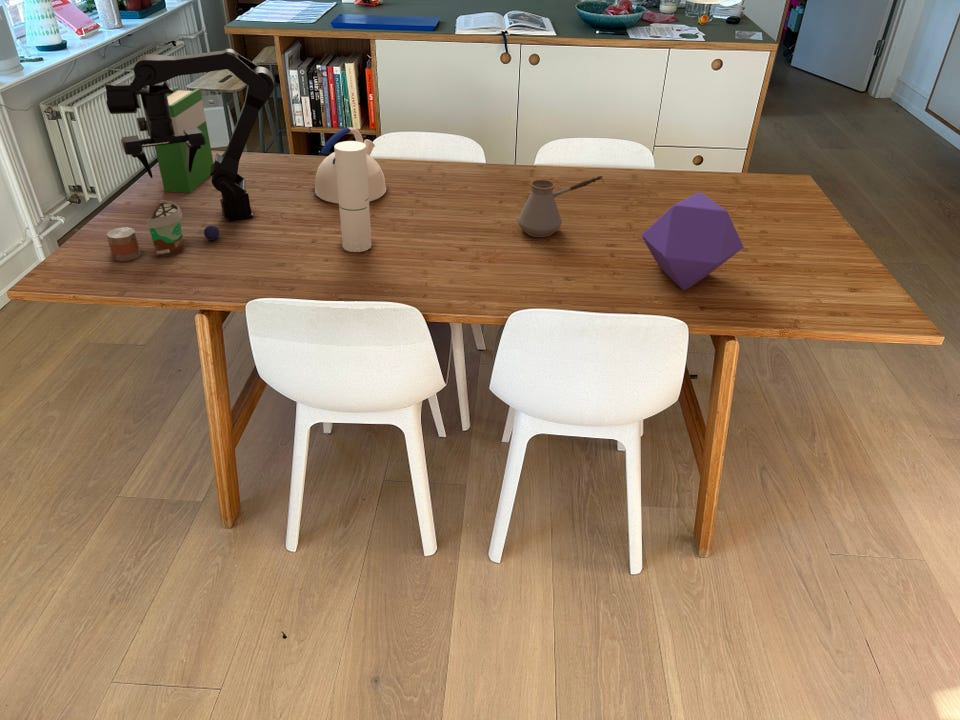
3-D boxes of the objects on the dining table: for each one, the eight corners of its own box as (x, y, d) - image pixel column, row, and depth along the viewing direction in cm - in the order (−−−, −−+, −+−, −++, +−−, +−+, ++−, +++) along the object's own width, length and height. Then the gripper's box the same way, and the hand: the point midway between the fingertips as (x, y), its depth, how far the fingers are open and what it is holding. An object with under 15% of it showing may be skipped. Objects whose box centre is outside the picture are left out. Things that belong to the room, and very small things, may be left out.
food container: (182, 259, 175) (174, 219, 170) (155, 259, 175) (146, 220, 169) (193, 236, 185) (185, 198, 180) (168, 237, 185) (159, 199, 179)
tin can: (138, 248, 179) (132, 225, 176) (142, 258, 175) (136, 234, 172) (111, 253, 177) (104, 229, 173) (114, 263, 172) (108, 240, 169)
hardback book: (191, 169, 223) (174, 87, 210) (214, 170, 223) (200, 88, 209) (164, 191, 209) (145, 104, 195) (189, 192, 208) (172, 105, 195)
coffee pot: (519, 240, 189) (523, 184, 180) (514, 222, 198) (517, 167, 190) (602, 240, 191) (609, 184, 182) (593, 221, 200) (600, 167, 192)
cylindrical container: (376, 242, 186) (371, 143, 172) (363, 254, 180) (357, 152, 166) (350, 237, 188) (343, 139, 173) (337, 249, 182) (328, 148, 168)
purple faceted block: (724, 312, 169) (775, 235, 161) (659, 291, 161) (710, 208, 152) (676, 267, 187) (720, 196, 179) (615, 246, 178) (658, 170, 170)
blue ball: (218, 235, 186) (216, 222, 184) (222, 241, 184) (219, 227, 182) (203, 238, 185) (201, 224, 183) (207, 243, 182) (204, 230, 180)
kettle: (401, 188, 216) (399, 125, 206) (354, 211, 201) (350, 145, 191) (347, 172, 225) (343, 112, 214) (299, 193, 210) (292, 130, 200)
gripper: (190, 99, 188) (201, 159, 197) (110, 107, 180) (126, 170, 189) (200, 110, 180) (211, 173, 189) (117, 120, 172) (133, 184, 181)
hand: (170, 174), depth 187 cm, fingers open, 9 cm apart
